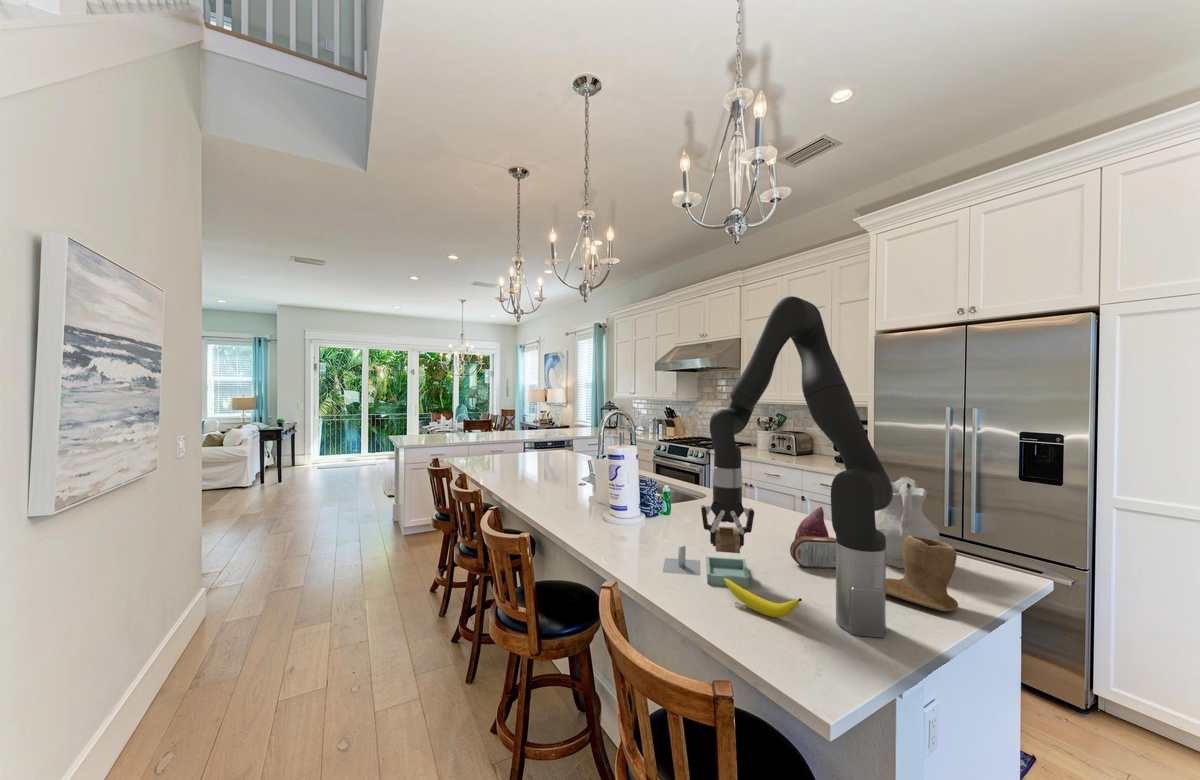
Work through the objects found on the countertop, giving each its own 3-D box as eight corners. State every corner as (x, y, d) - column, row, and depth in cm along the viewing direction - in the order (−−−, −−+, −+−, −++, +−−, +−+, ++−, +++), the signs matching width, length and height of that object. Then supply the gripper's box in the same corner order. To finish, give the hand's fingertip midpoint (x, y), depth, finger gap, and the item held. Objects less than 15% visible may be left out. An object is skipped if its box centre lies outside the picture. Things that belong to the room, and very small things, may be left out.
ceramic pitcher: (957, 584, 123) (965, 490, 123) (877, 574, 126) (885, 482, 126) (915, 556, 145) (922, 476, 144) (848, 547, 148) (854, 469, 148)
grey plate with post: (700, 577, 125) (700, 554, 125) (662, 574, 127) (662, 551, 127) (699, 562, 136) (699, 541, 136) (665, 559, 138) (665, 538, 138)
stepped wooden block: (739, 553, 120) (740, 537, 120) (715, 551, 121) (716, 536, 121) (737, 542, 129) (737, 527, 129) (714, 540, 130) (714, 526, 130)
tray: (750, 589, 117) (750, 578, 117) (707, 585, 119) (707, 574, 119) (744, 569, 130) (745, 559, 130) (706, 566, 133) (706, 556, 133)
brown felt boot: (966, 605, 109) (966, 541, 109) (948, 620, 102) (948, 551, 102) (894, 583, 121) (894, 525, 121) (874, 595, 114) (874, 534, 114)
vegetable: (829, 556, 150) (842, 511, 150) (825, 561, 142) (839, 514, 141) (795, 542, 156) (808, 499, 156) (789, 546, 147) (803, 501, 147)
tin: (844, 566, 133) (844, 536, 133) (849, 570, 130) (849, 540, 130) (789, 564, 135) (789, 534, 135) (793, 568, 132) (793, 538, 132)
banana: (727, 596, 113) (727, 570, 113) (804, 626, 99) (804, 596, 99) (720, 600, 111) (720, 573, 111) (798, 631, 97) (798, 600, 97)
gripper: (700, 485, 123) (699, 549, 123) (757, 487, 120) (756, 553, 120) (699, 479, 130) (699, 540, 130) (753, 482, 127) (753, 543, 127)
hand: (726, 546), depth 125 cm, fingers closed on stepped wooden block, 6 cm apart
